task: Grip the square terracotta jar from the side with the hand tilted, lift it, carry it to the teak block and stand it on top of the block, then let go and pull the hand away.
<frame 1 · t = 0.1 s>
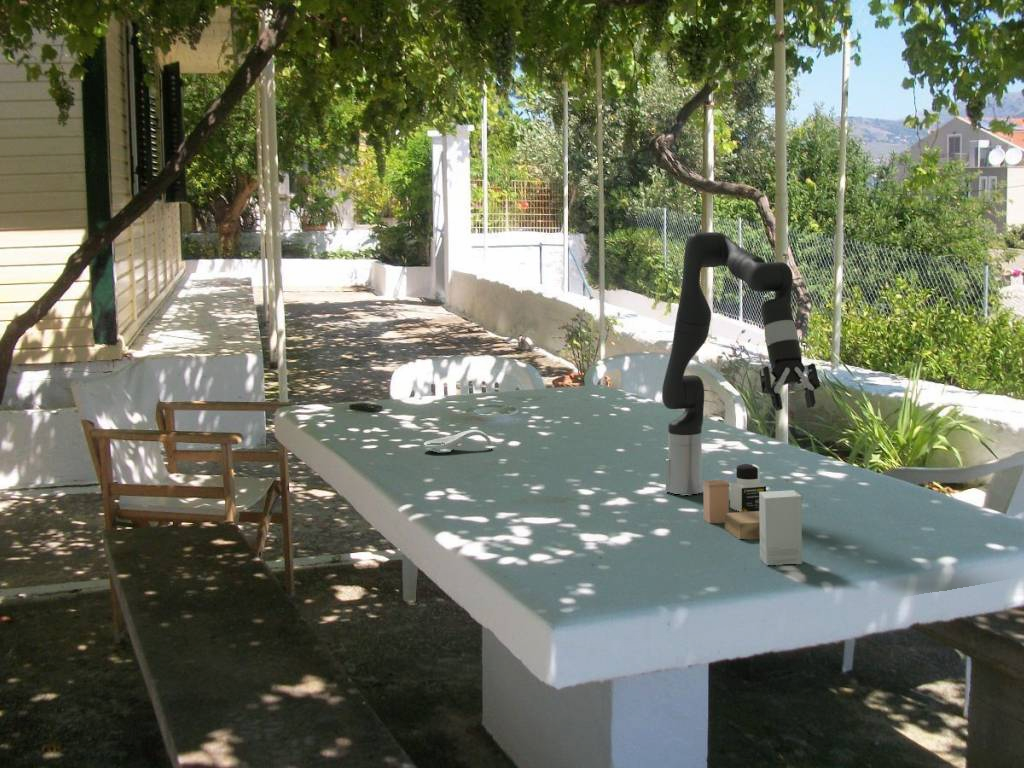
hand: (795, 408, 280), 31 cm above the table, tool tilted 20°, fingers open, 8 cm apart
spoon rest: (458, 452, 410), on the table
medicine bottle: (747, 510, 315), on the table
teak block: (754, 533, 290), on the table
terracotta jar: (716, 520, 304), on the table
skincare box: (780, 563, 264), on the table
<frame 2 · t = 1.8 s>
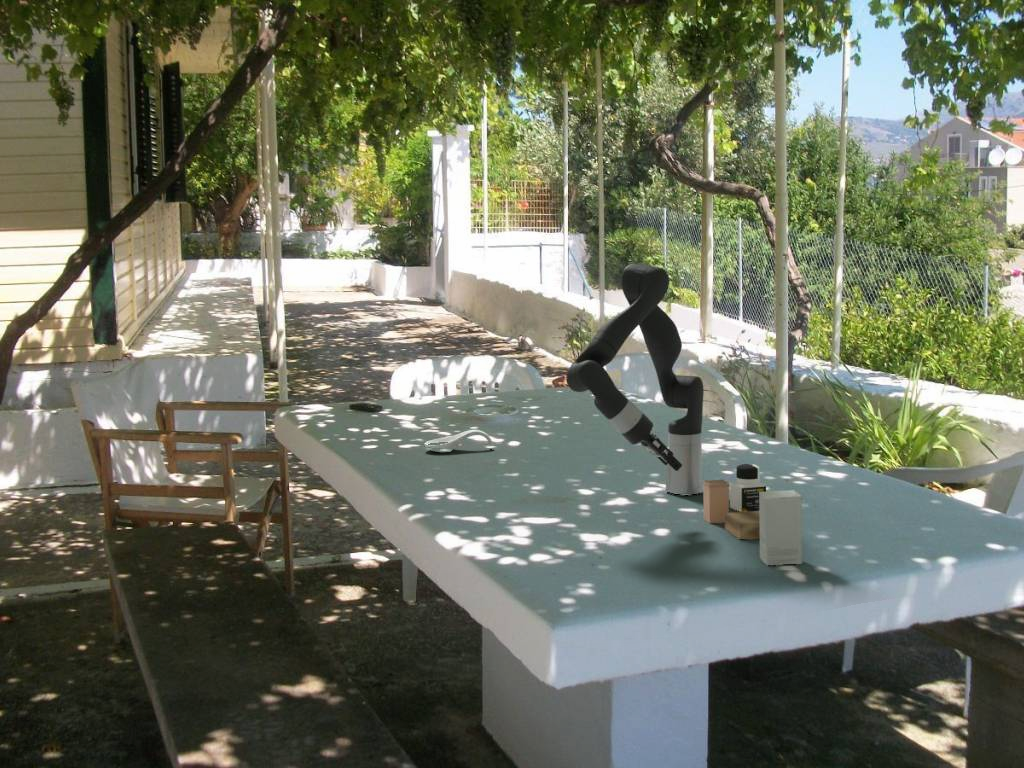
hand: (673, 465, 300), 15 cm above the table, tool tilted 45°, fingers open, 8 cm apart
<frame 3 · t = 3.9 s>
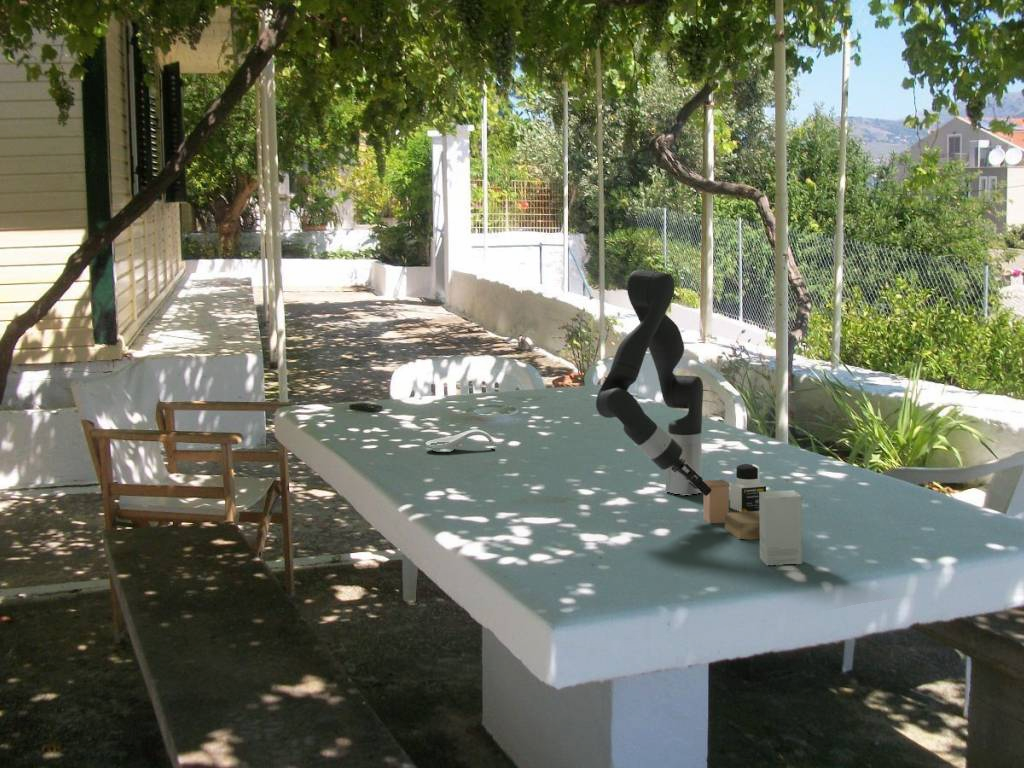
hand: (703, 489, 302), 8 cm above the table, tool tilted 45°, fingers open, 8 cm apart
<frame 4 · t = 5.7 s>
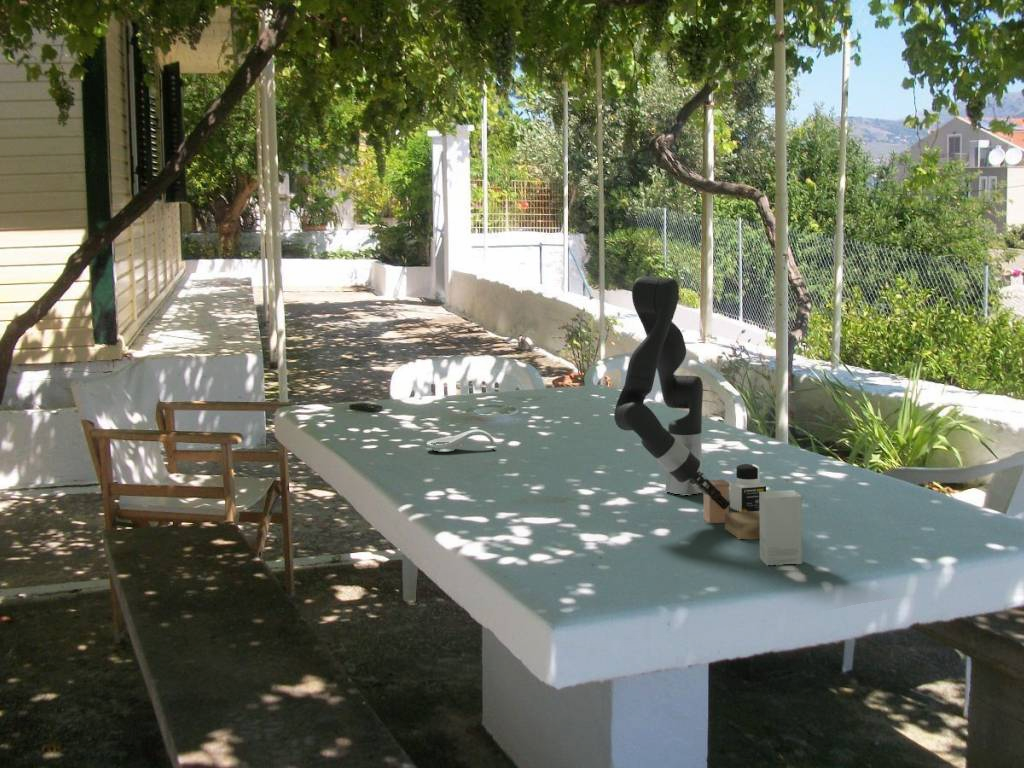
hand: (723, 503, 303), 4 cm above the table, tool tilted 45°, fingers closed on terracotta jar, 5 cm apart
terracotta jar: (716, 520, 304), on the table, touching gripper
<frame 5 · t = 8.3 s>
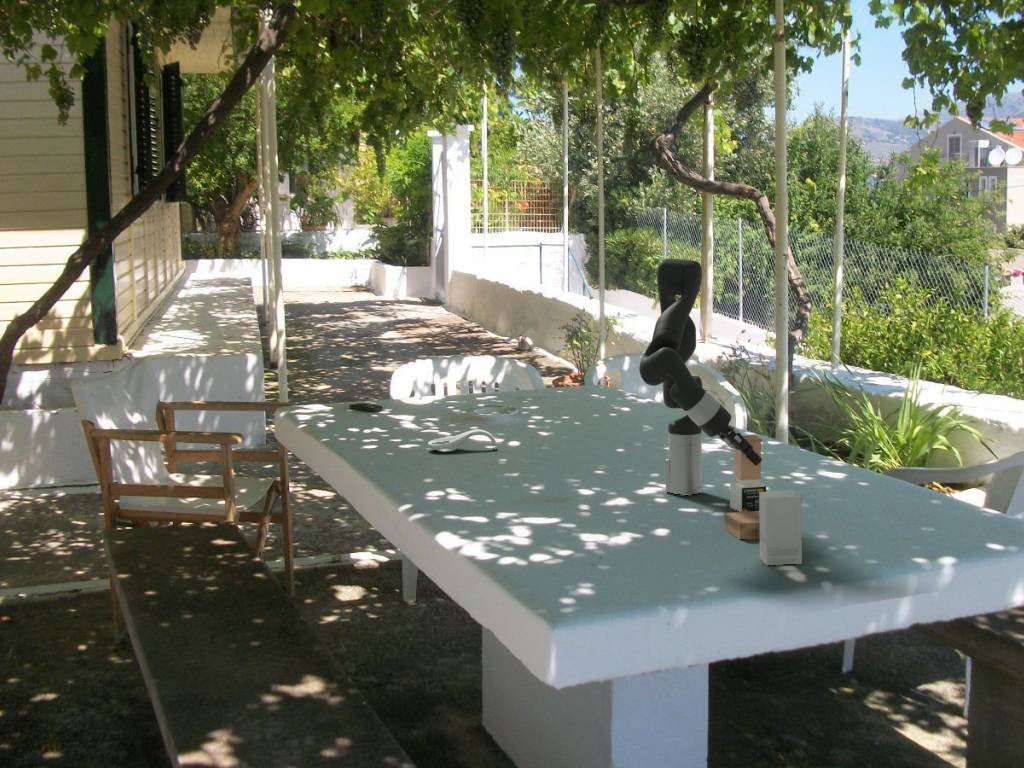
hand: (754, 460, 289), 18 cm above the table, tool tilted 45°, fingers closed on terracotta jar, 5 cm apart
terracotta jar: (747, 477, 290), point 13 cm above the table, touching gripper
when the fingers open (10 cm above the table, at t = 10.7 s): terracotta jar drops 2 cm, resting on teak block.
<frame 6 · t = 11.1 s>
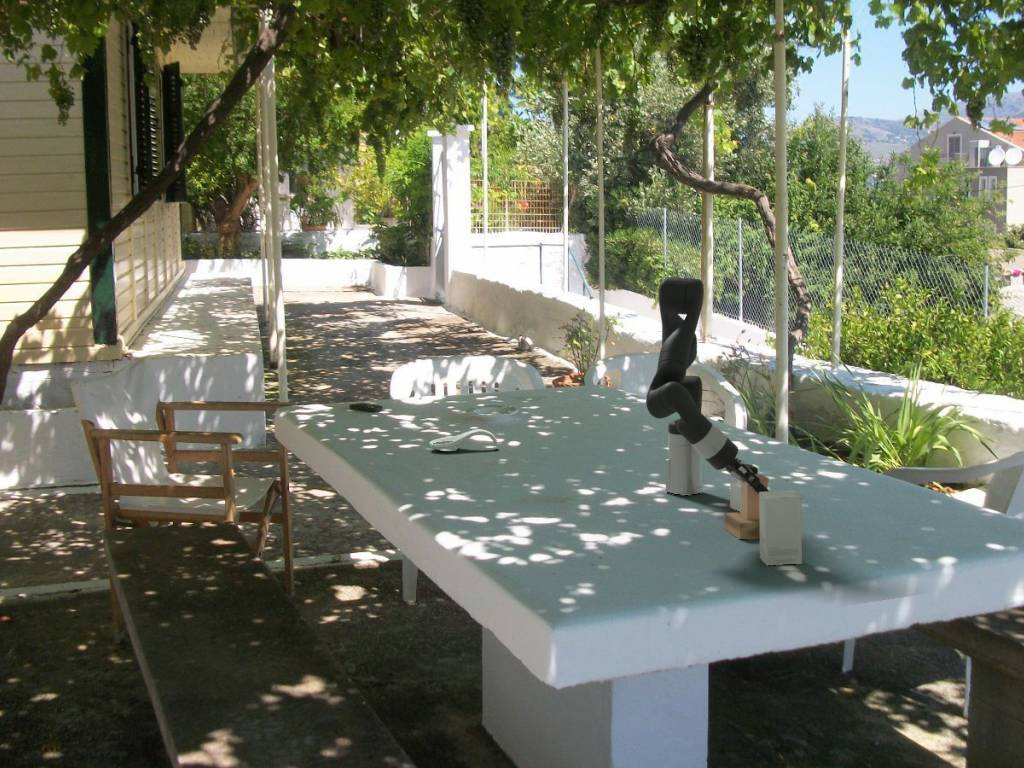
hand: (759, 490, 289), 10 cm above the table, tool tilted 45°, fingers open, 8 cm apart
terracotta jar: (753, 517, 289), point 4 cm above the table, touching teak block
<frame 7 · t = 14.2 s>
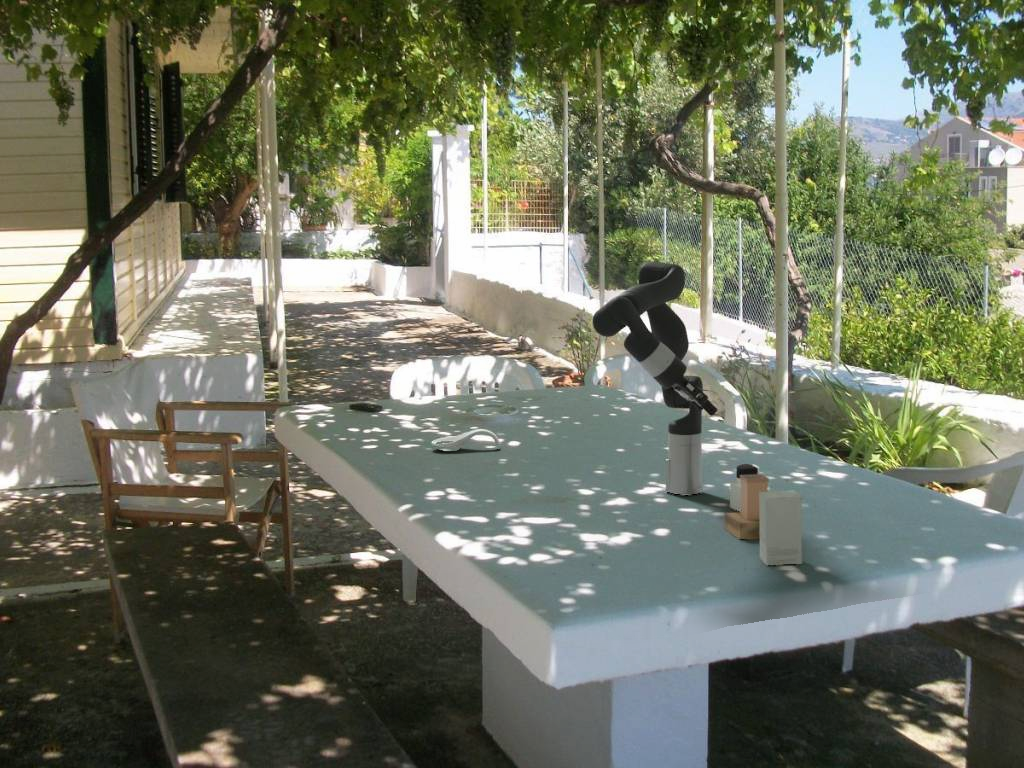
hand: (708, 410, 285), 31 cm above the table, tool tilted 45°, fingers open, 8 cm apart
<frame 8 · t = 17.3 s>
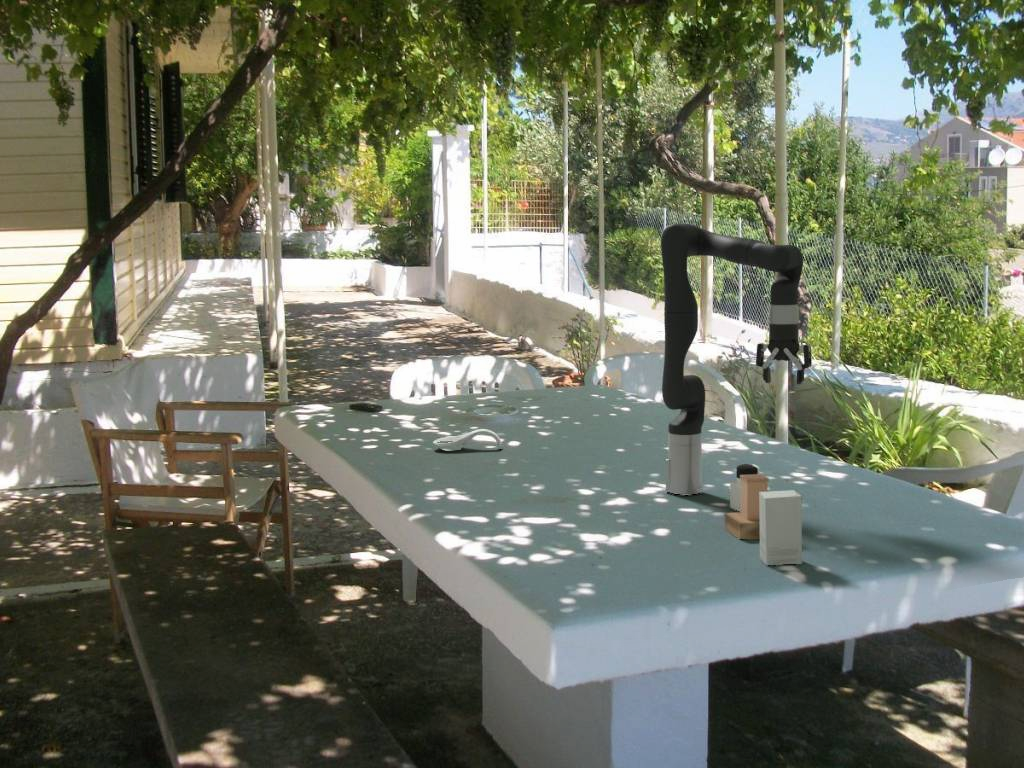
hand: (783, 383, 313), 33 cm above the table, tool pointing down, fingers open, 8 cm apart
at the end: terracotta jar inside the target area on the teak block (0.1 cm from its centre), point 4.0 cm above the teak block's base; terracotta jar tilted 0°; the gripper is holding nothing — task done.
